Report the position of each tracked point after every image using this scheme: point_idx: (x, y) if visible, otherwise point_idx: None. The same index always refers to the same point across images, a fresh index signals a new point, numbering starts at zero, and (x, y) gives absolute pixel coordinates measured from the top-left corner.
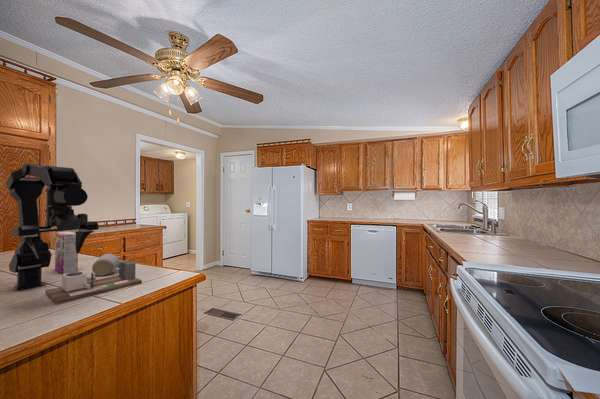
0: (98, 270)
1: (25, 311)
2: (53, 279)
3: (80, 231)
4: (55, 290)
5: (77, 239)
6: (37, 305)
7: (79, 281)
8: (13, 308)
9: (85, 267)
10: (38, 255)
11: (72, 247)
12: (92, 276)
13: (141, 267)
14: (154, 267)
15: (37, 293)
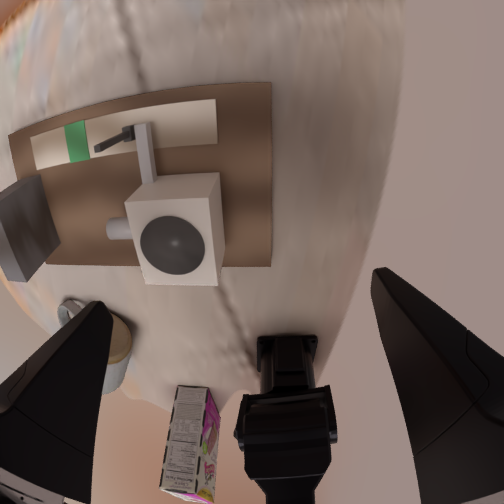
0: (116, 332)
1: (354, 95)
2: (230, 370)
3: (29, 481)
4: (246, 237)
5: (71, 423)
6: (316, 130)
7: (163, 188)
8: (371, 167)
9: (162, 400)
10: (400, 281)
11: (177, 453)
12: (105, 140)
13: (34, 310)
14: (6, 283)
15: (287, 278)
